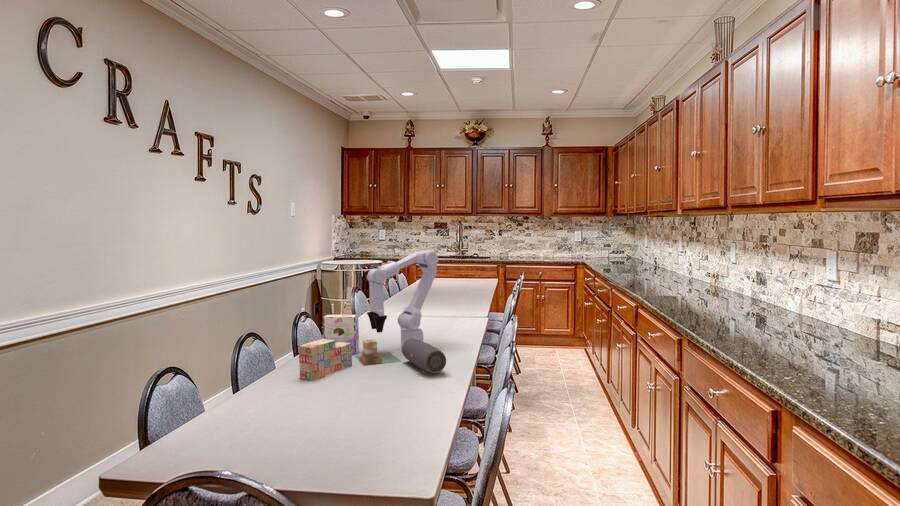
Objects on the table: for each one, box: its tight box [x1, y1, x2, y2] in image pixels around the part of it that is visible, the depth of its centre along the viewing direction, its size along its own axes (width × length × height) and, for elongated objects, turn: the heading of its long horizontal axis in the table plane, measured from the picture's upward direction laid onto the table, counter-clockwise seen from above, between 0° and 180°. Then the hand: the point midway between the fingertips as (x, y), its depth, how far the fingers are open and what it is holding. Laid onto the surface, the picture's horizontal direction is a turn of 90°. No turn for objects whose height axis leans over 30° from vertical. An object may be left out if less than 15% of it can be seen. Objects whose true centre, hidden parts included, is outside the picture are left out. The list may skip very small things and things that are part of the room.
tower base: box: [359, 355, 382, 366], centre depth 216 cm, size 7×7×2 cm
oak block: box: [362, 339, 378, 354], centre depth 215 cm, size 4×4×4 cm
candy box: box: [322, 314, 360, 356], centre depth 231 cm, size 14×6×16 cm, turn 84°
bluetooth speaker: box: [401, 339, 447, 374], centre depth 207 cm, size 23×9×10 cm, turn 27°
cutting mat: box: [354, 352, 402, 367], centre depth 221 cm, size 15×16×1 cm
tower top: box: [361, 350, 379, 360], centre depth 215 cm, size 6×6×2 cm
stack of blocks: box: [298, 338, 353, 382], centre depth 203 cm, size 21×6×12 cm, turn 150°
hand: (376, 330), depth 227 cm, fingers open, 7 cm apart
